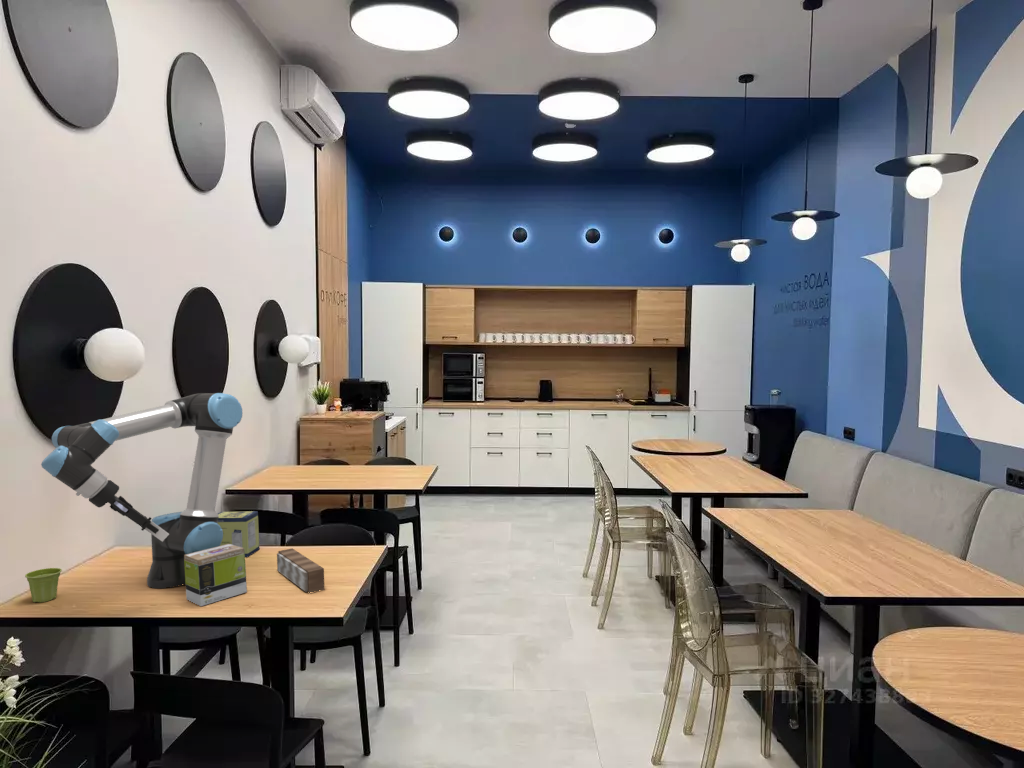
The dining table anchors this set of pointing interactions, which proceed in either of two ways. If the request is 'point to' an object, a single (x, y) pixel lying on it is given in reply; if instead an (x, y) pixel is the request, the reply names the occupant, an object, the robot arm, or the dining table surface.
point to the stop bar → (300, 570)
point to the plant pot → (43, 584)
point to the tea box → (215, 574)
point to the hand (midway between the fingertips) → (165, 537)
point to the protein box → (240, 530)
